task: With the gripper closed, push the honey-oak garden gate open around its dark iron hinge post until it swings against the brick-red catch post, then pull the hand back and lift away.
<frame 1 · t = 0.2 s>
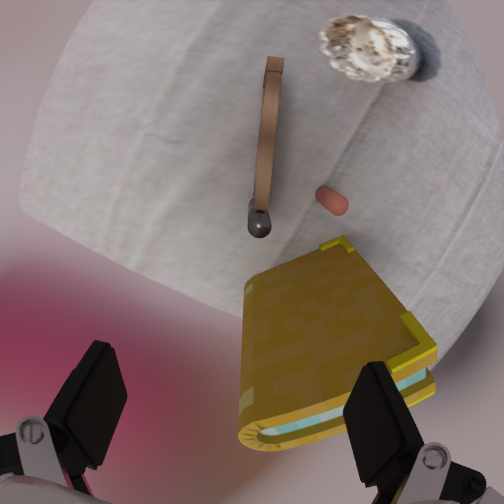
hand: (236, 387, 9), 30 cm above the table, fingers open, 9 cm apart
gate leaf: (266, 133, 30), point 5 cm above the table, hinge at 0.0°
book: (297, 276, 42), on the table
gate post: (257, 206, 38), on the table
catch post: (323, 194, 37), on the table
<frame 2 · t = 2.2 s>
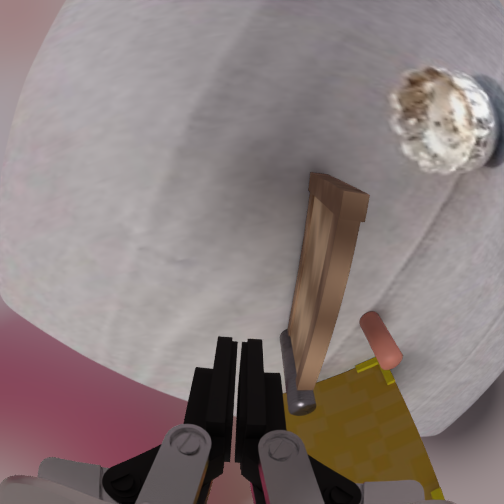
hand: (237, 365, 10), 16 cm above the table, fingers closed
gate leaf: (316, 282, 22), point 5 cm above the table, hinge at 0.0°
book: (327, 390, 34), on the table
gate post: (290, 336, 30), on the table
catch post: (369, 320, 29), on the table
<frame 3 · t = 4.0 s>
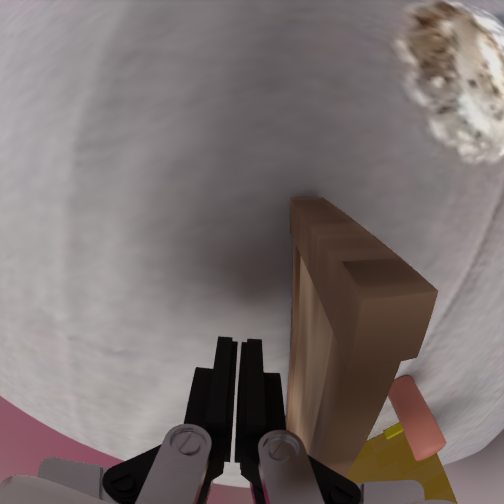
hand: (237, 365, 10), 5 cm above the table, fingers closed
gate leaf: (315, 396, 11), point 5 cm above the table, hinge at 1.7°, touching gripper
book: (351, 456, 23), on the table
catch post: (399, 385, 18), on the table
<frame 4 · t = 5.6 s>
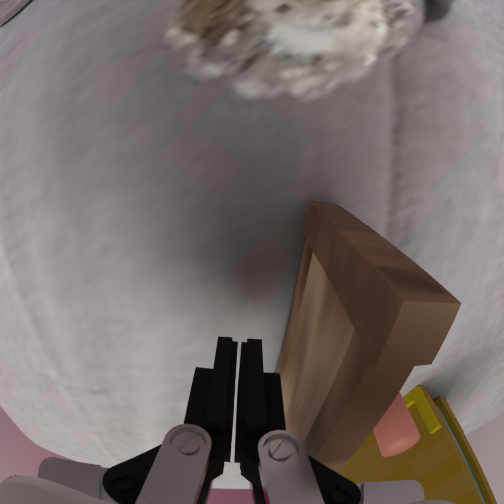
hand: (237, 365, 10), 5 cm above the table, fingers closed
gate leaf: (305, 398, 11), point 5 cm above the table, hinge at 32.3°, touching gripper
book: (367, 441, 22), on the table
catch post: (368, 368, 17), on the table
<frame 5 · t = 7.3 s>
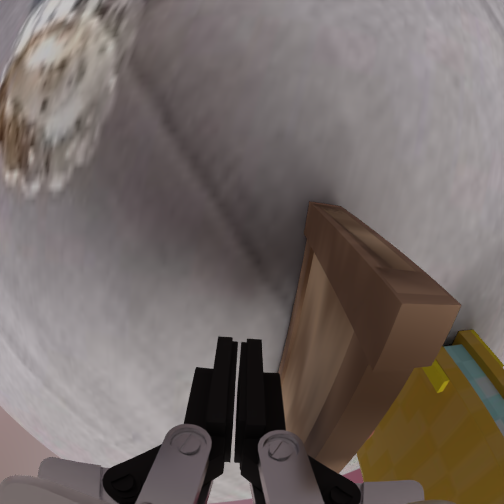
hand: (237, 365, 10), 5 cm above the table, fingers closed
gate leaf: (307, 399, 11), point 5 cm above the table, hinge at 62.1°, touching catch post, gripper
book: (404, 405, 20), on the table
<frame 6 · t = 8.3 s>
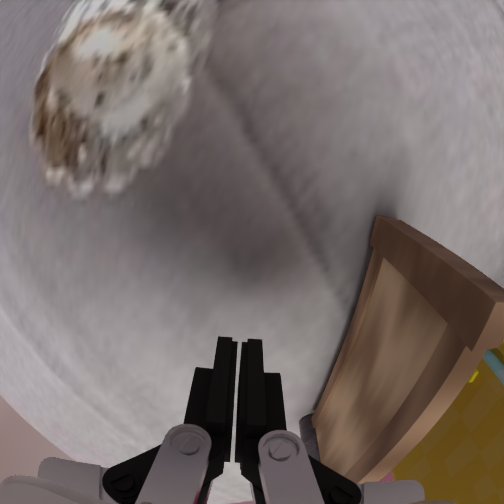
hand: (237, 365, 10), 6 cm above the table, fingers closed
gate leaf: (373, 391, 12), point 5 cm above the table, hinge at 62.0°, touching catch post
book: (429, 398, 20), on the table
gate post: (313, 421, 20), on the table
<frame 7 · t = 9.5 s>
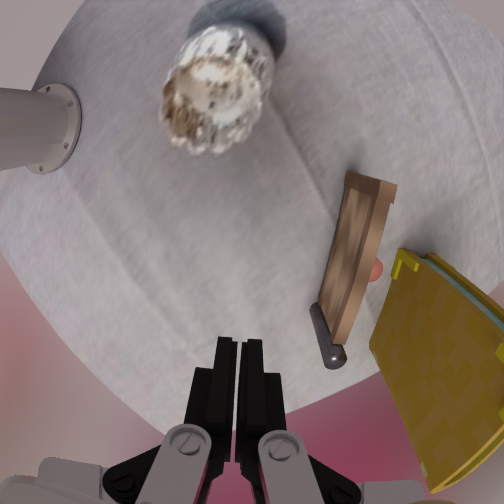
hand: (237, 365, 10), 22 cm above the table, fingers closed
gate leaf: (350, 254, 27), point 5 cm above the table, hinge at 62.0°, touching catch post
book: (399, 307, 35), on the table
gate post: (318, 309, 35), on the table
catch post: (351, 246, 32), on the table
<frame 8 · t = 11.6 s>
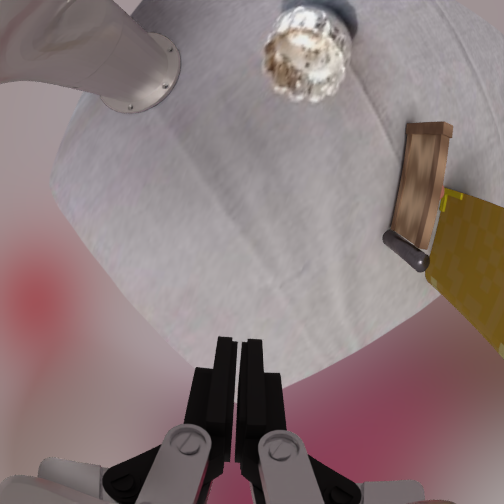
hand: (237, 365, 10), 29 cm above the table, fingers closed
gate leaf: (420, 181, 31), point 5 cm above the table, hinge at 62.0°, touching catch post
book: (445, 238, 39), on the table
gate post: (389, 237, 39), on the table
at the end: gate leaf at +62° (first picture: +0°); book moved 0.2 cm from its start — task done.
